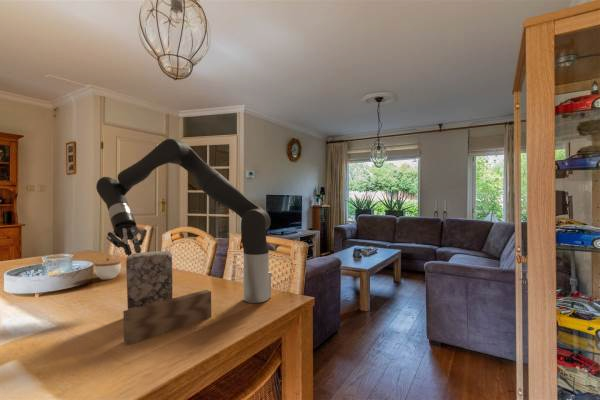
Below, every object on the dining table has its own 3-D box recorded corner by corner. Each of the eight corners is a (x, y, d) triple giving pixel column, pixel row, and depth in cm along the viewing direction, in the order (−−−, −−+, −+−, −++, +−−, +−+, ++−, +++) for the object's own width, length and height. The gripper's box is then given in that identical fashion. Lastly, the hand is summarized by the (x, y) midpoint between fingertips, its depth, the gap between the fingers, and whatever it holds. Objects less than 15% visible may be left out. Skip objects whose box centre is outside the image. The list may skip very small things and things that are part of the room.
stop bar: (206, 314, 96) (206, 289, 96) (211, 316, 94) (211, 291, 94) (123, 341, 78) (123, 311, 78) (127, 345, 76) (127, 314, 76)
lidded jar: (118, 273, 149) (118, 254, 149) (123, 277, 141) (123, 258, 141) (92, 277, 141) (92, 257, 141) (96, 282, 133) (96, 261, 133)
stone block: (126, 323, 90) (125, 256, 90) (127, 315, 96) (127, 253, 96) (174, 314, 96) (173, 252, 96) (172, 307, 102) (171, 249, 102)
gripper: (102, 211, 106) (114, 250, 98) (143, 210, 116) (157, 244, 108) (98, 225, 110) (109, 263, 102) (138, 223, 120) (151, 257, 112)
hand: (134, 253), depth 105 cm, fingers closed
